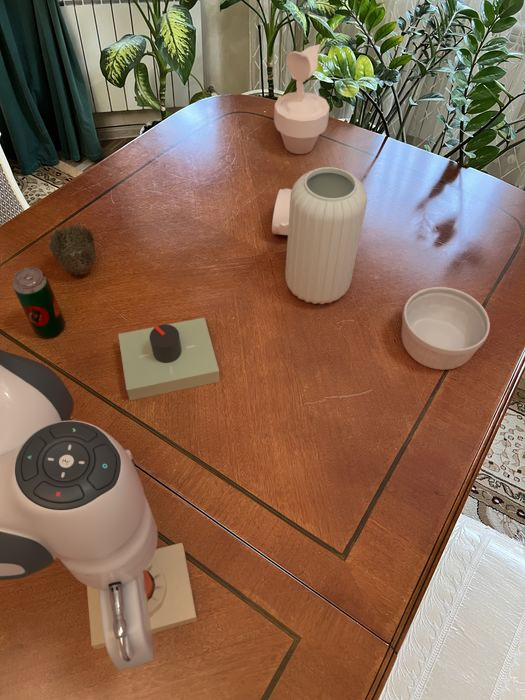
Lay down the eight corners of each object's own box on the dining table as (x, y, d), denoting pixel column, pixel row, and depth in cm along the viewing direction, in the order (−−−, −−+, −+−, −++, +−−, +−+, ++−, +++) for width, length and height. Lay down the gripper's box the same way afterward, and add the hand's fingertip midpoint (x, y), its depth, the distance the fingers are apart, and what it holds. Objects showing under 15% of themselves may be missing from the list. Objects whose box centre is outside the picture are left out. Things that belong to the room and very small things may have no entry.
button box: (95, 649, 66) (87, 643, 63) (89, 572, 72) (81, 562, 68) (197, 621, 68) (194, 613, 65) (184, 547, 74) (181, 537, 70)
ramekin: (386, 361, 92) (395, 334, 86) (405, 304, 99) (414, 276, 94) (469, 387, 89) (483, 361, 84) (482, 327, 97) (496, 299, 91)
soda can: (70, 331, 95) (50, 280, 85) (41, 344, 93) (17, 294, 83) (58, 312, 97) (37, 260, 88) (30, 324, 95) (5, 273, 86)
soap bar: (320, 251, 107) (324, 218, 101) (271, 244, 108) (272, 210, 102) (328, 211, 114) (333, 177, 108) (282, 204, 115) (284, 170, 109)
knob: (187, 352, 89) (184, 334, 85) (165, 368, 87) (161, 350, 83) (169, 335, 91) (166, 318, 87) (147, 351, 89) (143, 333, 85)
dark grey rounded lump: (66, 256, 105) (54, 222, 99) (106, 258, 105) (96, 224, 99) (56, 286, 101) (42, 252, 94) (97, 287, 101) (87, 254, 94)
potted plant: (308, 169, 123) (319, 50, 103) (263, 151, 126) (265, 32, 106) (336, 141, 129) (352, 23, 109) (292, 124, 133) (300, 8, 113)
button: (123, 608, 66) (121, 604, 64) (120, 576, 68) (117, 572, 66) (155, 599, 66) (152, 595, 65) (150, 568, 68) (148, 564, 67)
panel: (129, 400, 87) (126, 389, 84) (121, 345, 93) (117, 333, 91) (219, 381, 89) (219, 370, 87) (205, 328, 96) (204, 316, 93)
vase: (339, 319, 97) (358, 215, 80) (275, 301, 100) (280, 196, 82) (356, 274, 104) (377, 169, 86) (296, 258, 106) (305, 152, 88)
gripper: (159, 644, 48) (175, 669, 59) (128, 435, 60) (146, 488, 71) (83, 666, 47) (114, 687, 58) (66, 449, 59) (94, 501, 70)
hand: (131, 576), depth 65 cm, fingers closed
